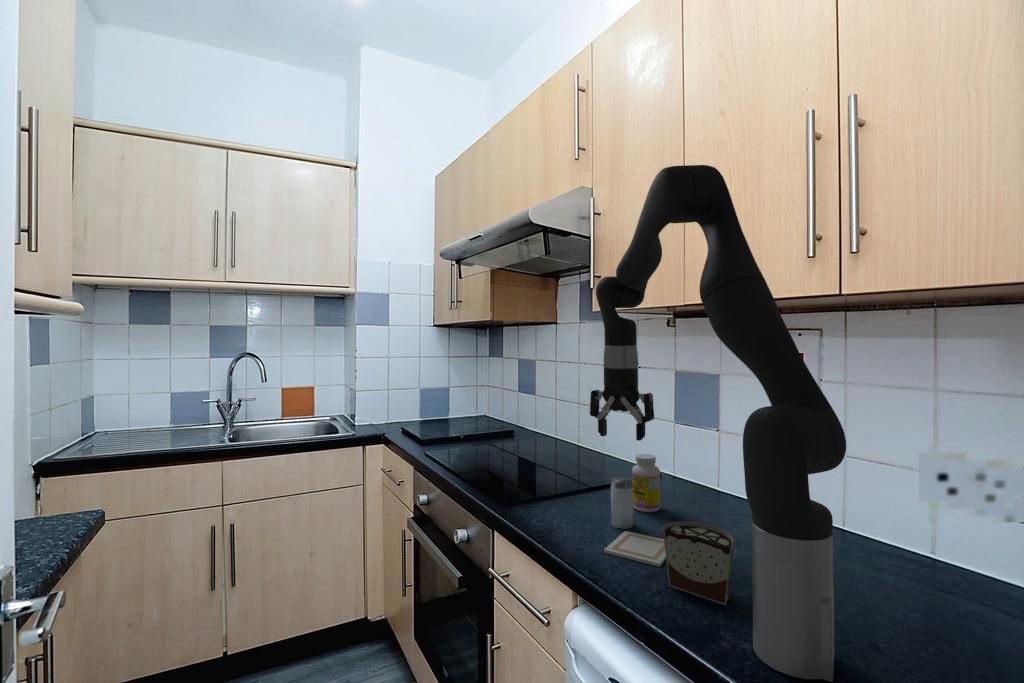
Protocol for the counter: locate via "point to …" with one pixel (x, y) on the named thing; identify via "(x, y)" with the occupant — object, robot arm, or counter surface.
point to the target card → (638, 548)
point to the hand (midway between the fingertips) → (621, 437)
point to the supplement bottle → (646, 484)
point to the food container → (699, 559)
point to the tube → (622, 502)
